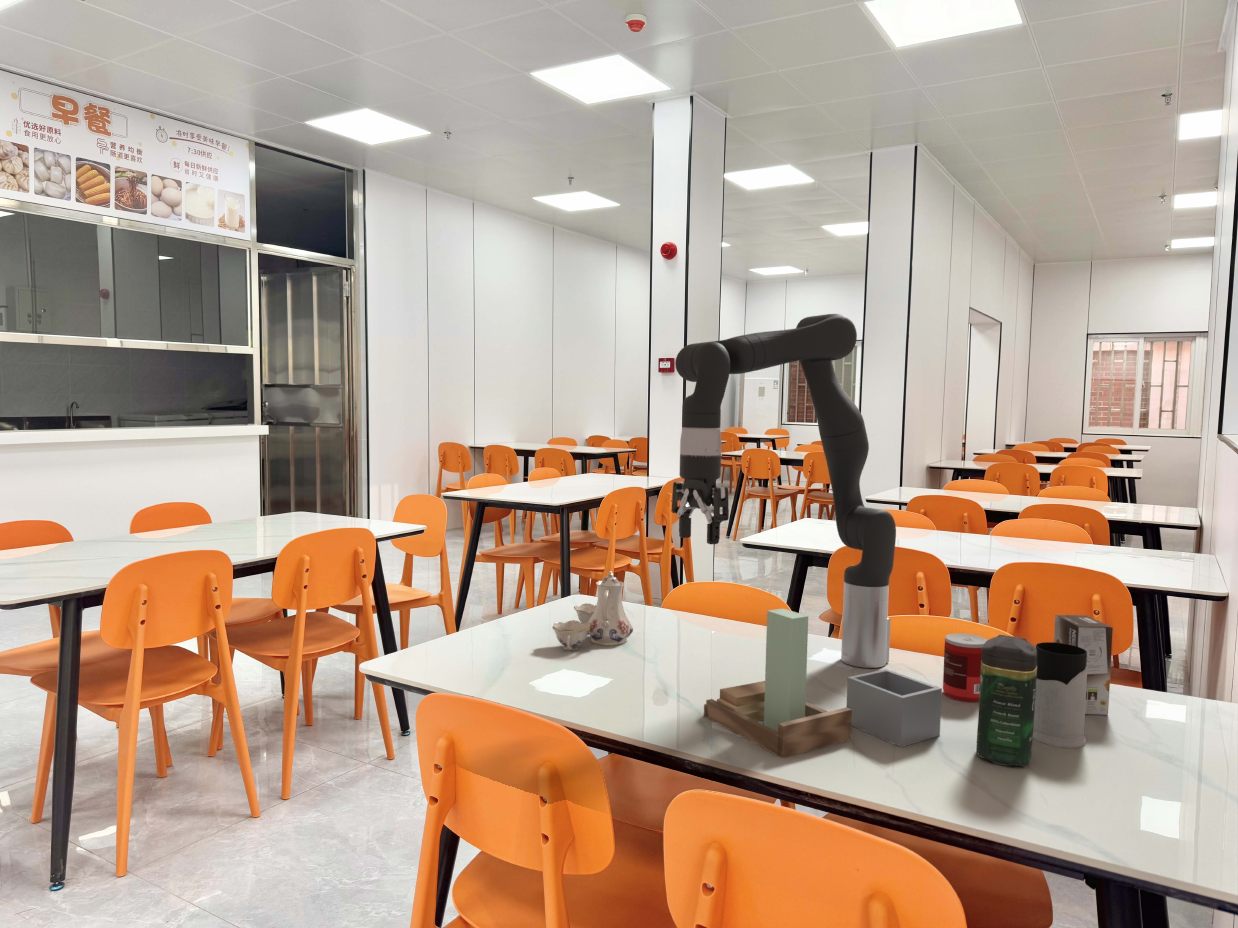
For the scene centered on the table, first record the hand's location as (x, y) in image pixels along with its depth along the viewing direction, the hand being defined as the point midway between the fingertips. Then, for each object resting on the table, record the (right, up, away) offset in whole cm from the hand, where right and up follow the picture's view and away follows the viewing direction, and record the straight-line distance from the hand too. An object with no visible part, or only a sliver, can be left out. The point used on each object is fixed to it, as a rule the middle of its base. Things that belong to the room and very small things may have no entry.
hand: (698, 540), depth 151 cm
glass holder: (+56, -31, -13) cm, 66 cm away
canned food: (+51, -30, +5) cm, 60 cm away
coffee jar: (+46, -32, -22) cm, 60 cm away
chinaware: (-20, -27, +39) cm, 52 cm away
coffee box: (+70, -31, +1) cm, 77 cm away
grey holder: (+32, -31, -12) cm, 46 cm away
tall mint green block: (+13, -31, -14) cm, 36 cm away
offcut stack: (+9, -30, -7) cm, 32 cm away
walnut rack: (+12, -30, -13) cm, 35 cm away
